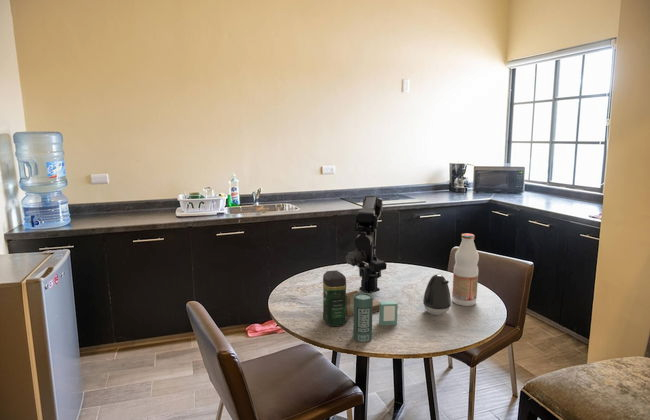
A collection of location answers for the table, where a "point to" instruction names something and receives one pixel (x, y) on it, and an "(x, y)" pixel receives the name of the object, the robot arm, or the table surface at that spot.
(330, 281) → the coffee jar
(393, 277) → the table surface
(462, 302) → the fruit juice
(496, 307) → the table surface
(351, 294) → the tan wooden block
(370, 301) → the can
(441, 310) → the dark rounded piece
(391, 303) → the mint green block
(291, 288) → the table surface
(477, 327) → the table surface
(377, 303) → the brown wooden block
